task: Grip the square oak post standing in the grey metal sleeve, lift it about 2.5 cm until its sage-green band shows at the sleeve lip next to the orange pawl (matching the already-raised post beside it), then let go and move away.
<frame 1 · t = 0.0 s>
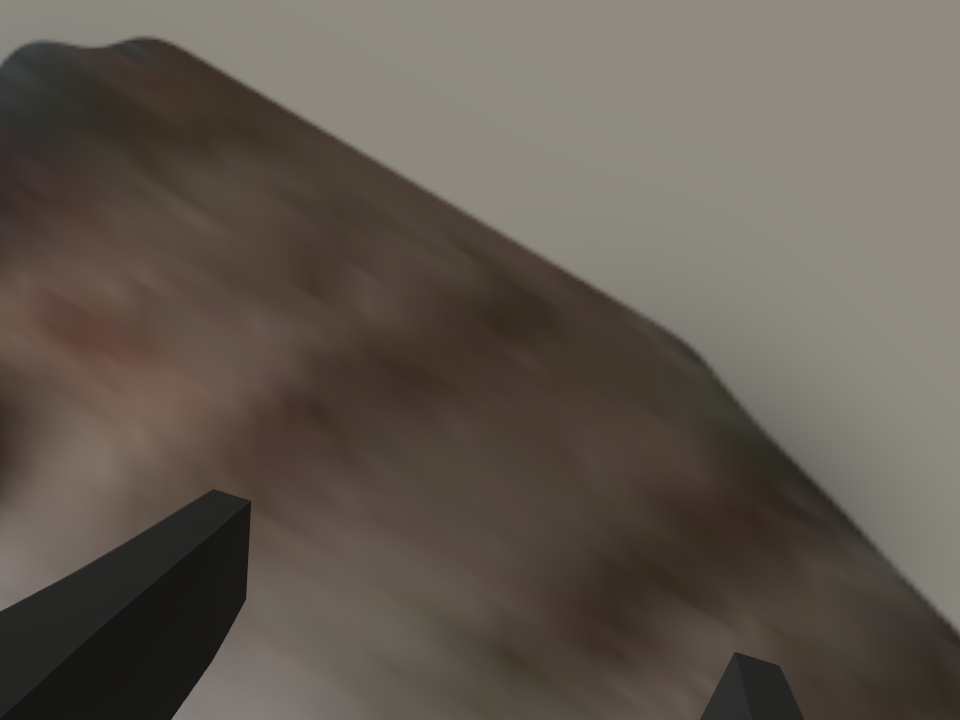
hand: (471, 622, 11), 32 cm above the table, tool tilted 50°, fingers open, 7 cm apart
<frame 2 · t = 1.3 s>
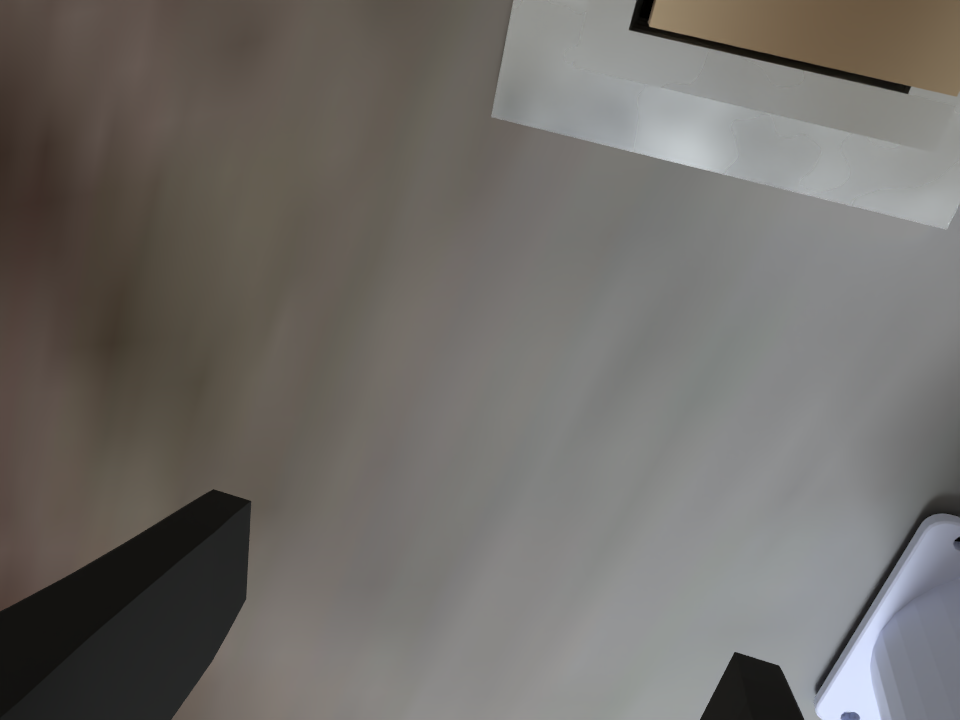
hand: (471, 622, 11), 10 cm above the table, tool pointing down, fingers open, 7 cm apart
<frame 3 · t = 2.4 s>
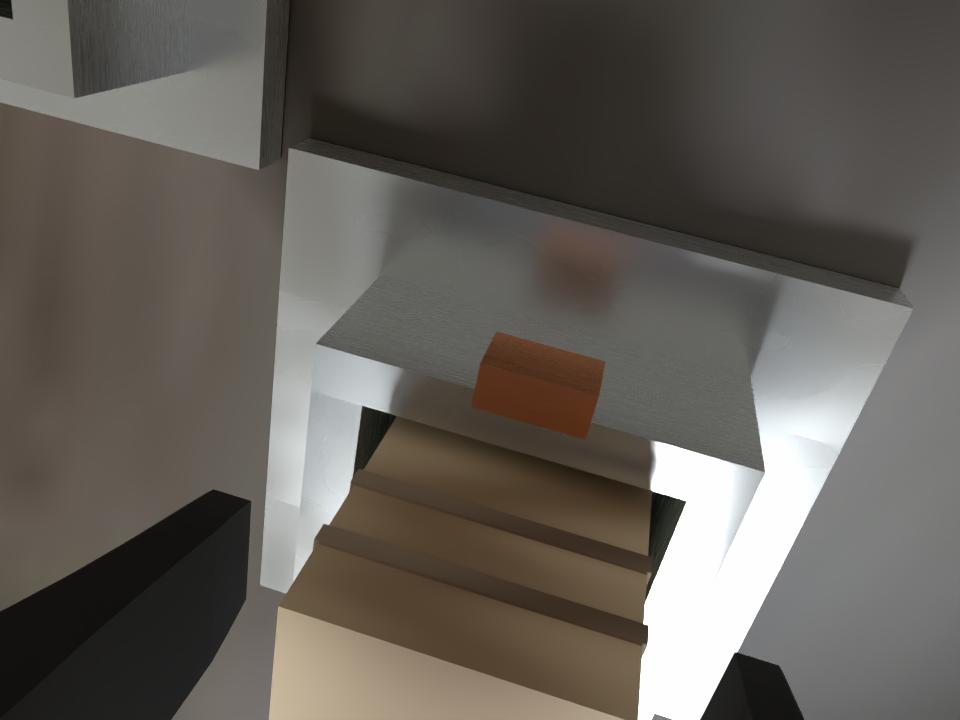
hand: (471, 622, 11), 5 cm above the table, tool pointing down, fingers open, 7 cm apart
post: (486, 580, 12), point 4 cm above the table, slide at 0.0 cm
stand base: (527, 451, 15), on the table
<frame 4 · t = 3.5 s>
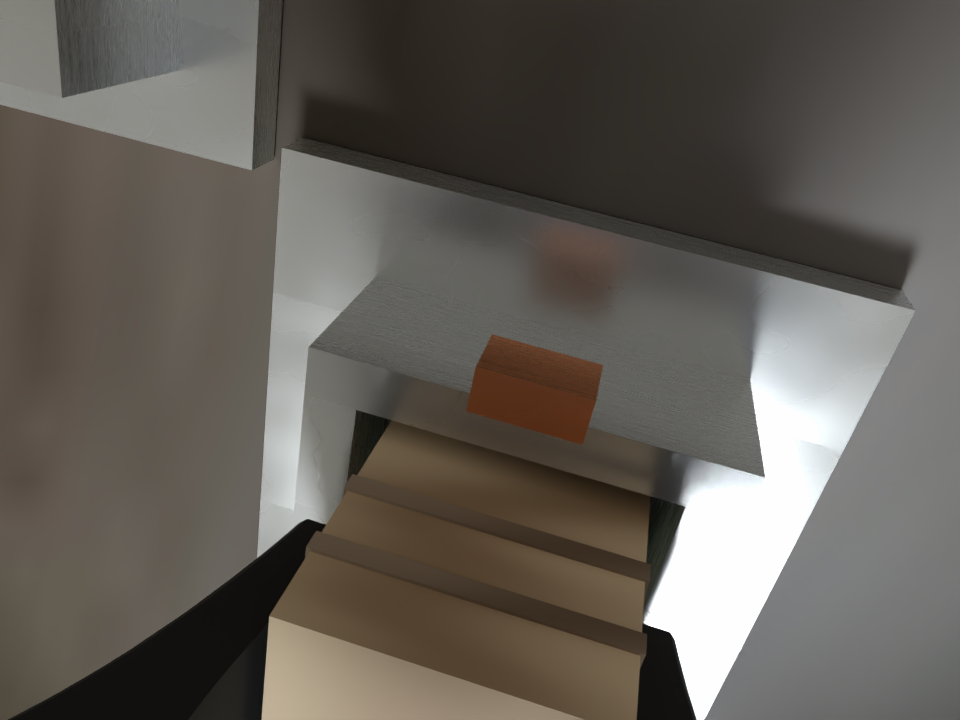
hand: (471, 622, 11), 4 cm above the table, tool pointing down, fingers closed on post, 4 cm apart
post: (483, 586, 12), point 4 cm above the table, slide at 0.0 cm, touching gripper
stand base: (524, 454, 15), on the table
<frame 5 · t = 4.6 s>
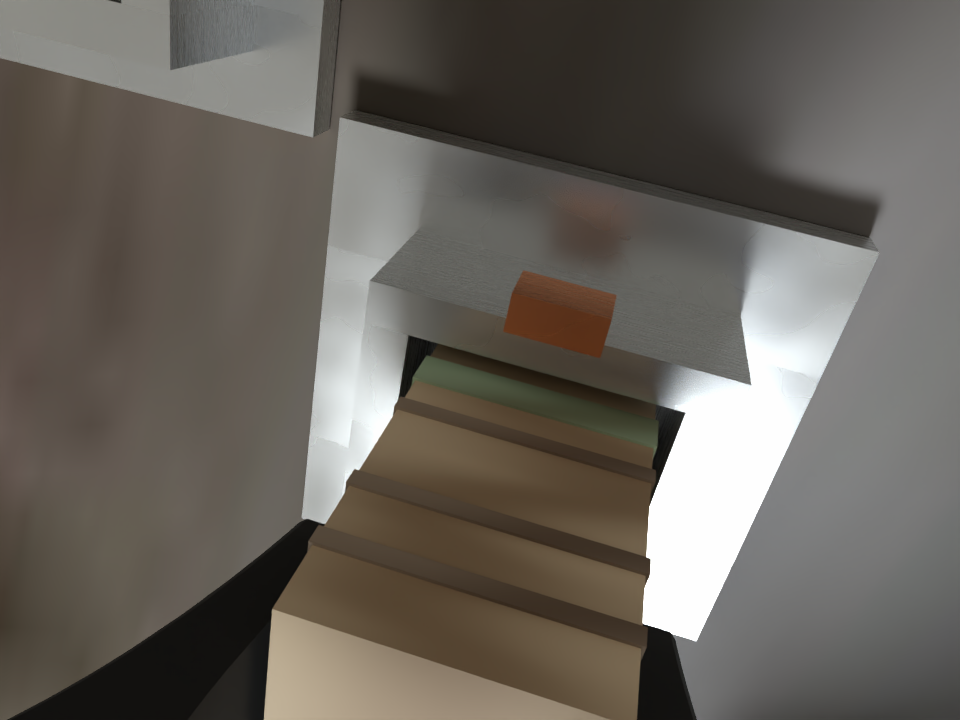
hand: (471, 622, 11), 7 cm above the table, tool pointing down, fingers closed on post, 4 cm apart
post: (484, 580, 12), point 6 cm above the table, slide at 2.4 cm, touching gripper
stand base: (544, 391, 17), on the table
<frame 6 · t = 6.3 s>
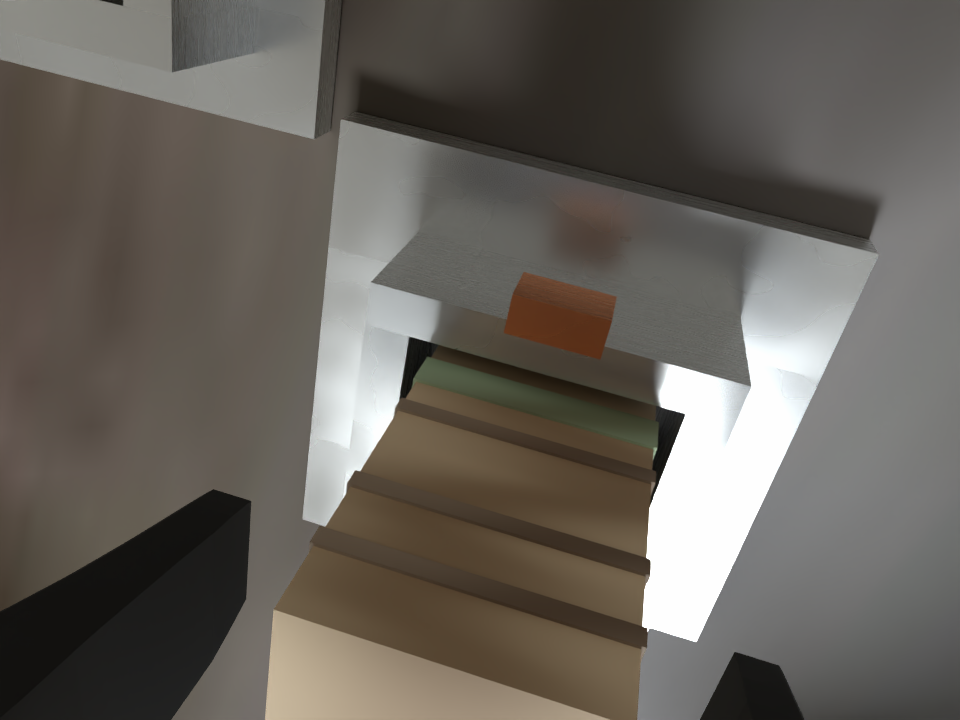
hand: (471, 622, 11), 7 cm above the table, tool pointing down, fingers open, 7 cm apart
post: (484, 581, 12), point 6 cm above the table, slide at 2.4 cm
stand base: (544, 392, 17), on the table
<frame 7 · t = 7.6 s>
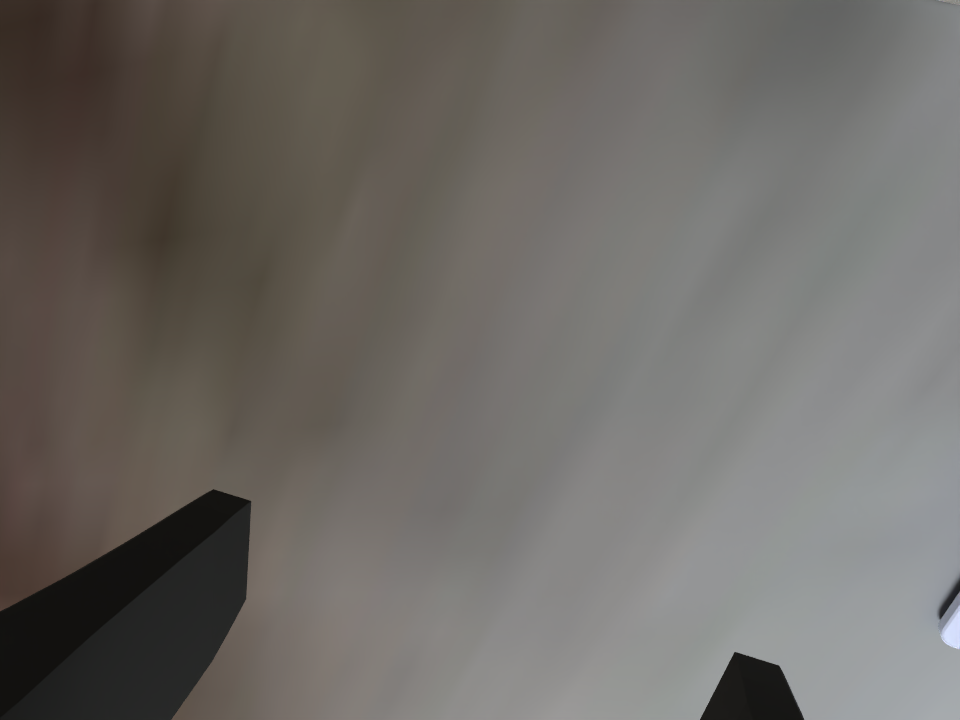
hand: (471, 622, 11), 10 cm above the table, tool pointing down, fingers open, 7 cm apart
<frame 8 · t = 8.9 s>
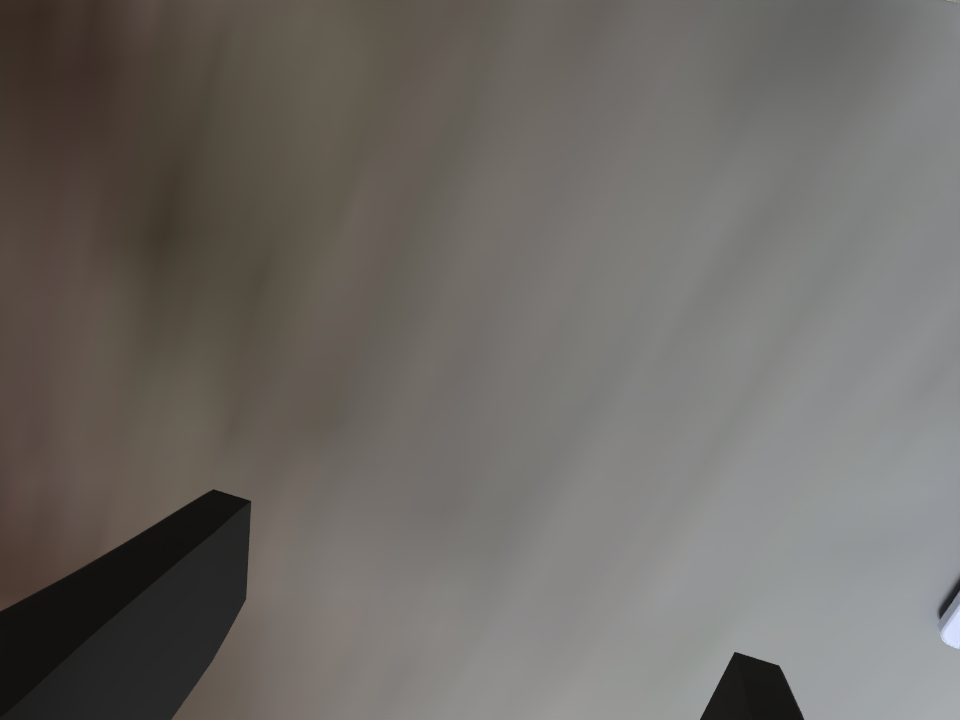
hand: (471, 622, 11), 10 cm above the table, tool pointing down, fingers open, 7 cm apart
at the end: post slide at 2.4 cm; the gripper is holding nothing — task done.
